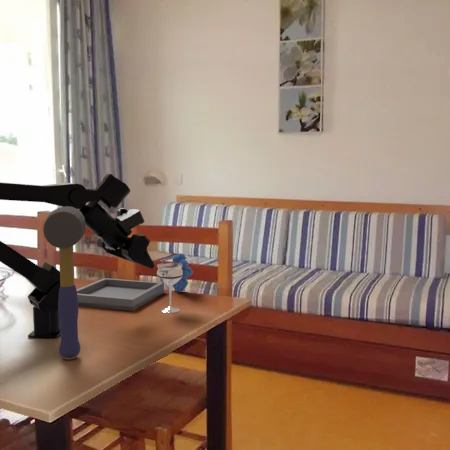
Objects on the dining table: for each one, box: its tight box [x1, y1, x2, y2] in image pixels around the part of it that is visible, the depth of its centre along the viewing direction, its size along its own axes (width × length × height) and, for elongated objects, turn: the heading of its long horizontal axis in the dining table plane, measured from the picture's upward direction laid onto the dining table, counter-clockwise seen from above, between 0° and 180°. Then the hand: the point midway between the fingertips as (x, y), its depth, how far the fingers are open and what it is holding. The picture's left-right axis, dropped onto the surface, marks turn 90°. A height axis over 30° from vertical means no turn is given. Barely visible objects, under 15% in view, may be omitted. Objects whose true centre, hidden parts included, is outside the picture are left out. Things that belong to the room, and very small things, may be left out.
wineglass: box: [156, 262, 183, 314], centre depth 133 cm, size 7×7×12 cm
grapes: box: [171, 253, 194, 293], centre depth 152 cm, size 12×7×12 cm, turn 24°
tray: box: [76, 277, 165, 312], centre depth 145 cm, size 20×20×3 cm
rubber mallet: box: [42, 206, 87, 361], centre depth 99 cm, size 12×8×30 cm, turn 13°
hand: (144, 264), depth 128 cm, fingers open, 9 cm apart
